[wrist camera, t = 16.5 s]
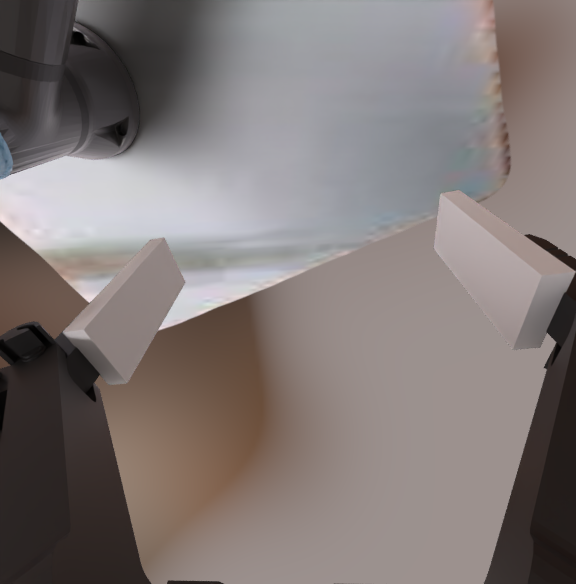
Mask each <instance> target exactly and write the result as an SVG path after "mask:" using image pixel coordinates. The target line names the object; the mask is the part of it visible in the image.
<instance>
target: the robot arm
mask: <svg viewBox="0 0 576 584" xmlns="http://www.w3.org/2000/svg"><path fill="white" fill-rule="evenodd" d="M78 1H79V0H0V179H3V178H6V177H7V176H9V175H11V174H14V173H17V172H20V171H23V170H25V169H28V168H31V167H34V166H37V165H40V164H43V163H46V162H49V161H52V160H54V159H57V158H60V157H63V156H72V157H78V158H83V159H91V160H98V159H105V158H109V157H112V156H114V155H117V154H119V153H121V152H123V151H124V150H126V149H127V148H128V147H129V146H130V145H131V143H132V142H133V140H134V138H135V136H136V134H137V131H138V127H139V118H140V113H139V103H138V98H137V94H136V91H135V88H134V85H133V82H132V80H131V78H130V76H129V74H128V72H127V70H126V68H125V67H124V65H123V63H122V62H121V60H120V59H119V58H118V56H117V55H116V54H115V52H114V51H113V50H112V49H111V48H110V47H109V46H108V45H107V44H106V43H105V42H104V41H103V40H102V39H101V38H100V37H99V36H97V35H96V34H95V33H94V32H92V31H91V30H89V29H88V28H86V27H84V26H82V25H80V24H78V23H76V22H74V21H75V16H76V11H77V6H78ZM434 250H435V251H436V252H437V254H438V255H439V256H440V257H441V259H442V260H443V261H444V262H445V264H446V265H447V266H448V268H449V269H450V270H451V272H452V273H453V274H454V275H455V277H456V278H457V279H458V280H459V282H460V283H461V284H462V286H463V287H464V288H465V289H466V291H467V292H468V293H469V295H470V296H471V297H472V298H473V300H474V301H475V302H476V304H477V305H478V306H479V307H480V309H481V310H482V311H483V312H484V314H485V315H486V316H487V318H488V319H489V320H490V321H491V323H492V324H493V325H494V327H495V328H496V329H497V330H498V332H499V333H500V334H501V335H502V337H503V338H504V339H505V341H506V342H507V343H508V345H509V346H510V347H511V348H512V350H517V349H528V348H540V347H541V344H542V342H543V340H544V338H545V336H546V334H547V333H548V334H549V335H550V336H551V337H552V338H553V339H554V340H555V341H556V342H557V343H556V345H555V347H554V349H553V351H552V352H551V354H550V356H549V358H548V360H547V362H546V364H545V366H544V368H546V369H547V371H546V374H545V378H544V382H543V385H542V388H541V392H540V395H539V399H538V402H537V406H536V409H535V413H534V416H533V419H532V424H531V427H530V430H529V434H528V437H527V440H526V444H525V447H524V451H523V454H522V458H521V461H520V465H519V468H518V471H517V475H516V478H515V482H514V485H513V489H512V492H511V496H510V499H509V503H508V506H507V510H506V513H505V516H504V520H503V523H502V527H501V531H500V534H499V537H498V541H497V544H496V548H495V551H494V555H493V558H492V561H491V565H490V568H489V571H488V574H487V577H486V580H485V582H484V584H576V259H575V258H573V257H572V256H568V254H567V253H565V252H564V251H562V250H561V249H558V247H556V246H555V245H553V244H552V243H550V242H549V241H547V240H545V239H542V238H539V237H536V236H533V235H530V234H528V235H523V234H521V233H520V232H518V231H517V230H515V229H514V228H513V227H511V226H510V225H508V224H507V223H505V222H504V221H503V220H501V219H500V218H498V217H497V216H495V215H494V214H492V213H491V212H490V211H488V210H487V209H485V208H484V207H483V206H481V205H480V204H478V203H477V202H475V201H474V200H473V199H471V198H470V197H468V196H467V195H465V194H464V193H463V192H461V191H460V190H457V191H451V192H444V193H441V194H440V202H439V210H438V218H437V226H436V234H435V242H434ZM184 284H185V280H184V278H183V276H182V274H181V272H180V270H179V268H178V265H177V263H176V261H175V259H174V257H173V255H172V253H171V251H170V249H169V246H168V244H167V242H166V240H165V238H159V239H152V240H150V241H149V242H148V243H147V244H146V245H145V246H144V247H143V248H142V249H141V250H140V251H139V252H138V253H137V254H136V255H135V256H134V257H133V259H132V260H131V261H130V262H129V263H128V264H127V265H126V266H125V267H124V268H123V269H122V270H121V271H120V272H119V273H118V274H117V275H116V276H115V277H114V278H113V279H112V281H111V282H110V283H109V284H108V285H107V286H106V287H105V288H104V289H103V290H102V291H101V292H100V293H99V294H98V295H97V296H96V297H95V298H94V299H93V300H92V301H91V302H90V303H89V304H88V306H86V307H85V308H84V309H83V311H82V312H81V313H80V314H79V315H78V316H77V317H76V318H75V319H74V320H73V321H72V322H71V323H70V324H69V325H68V326H67V327H66V328H65V329H64V330H63V331H62V333H61V334H60V335H59V336H58V337H57V338H56V339H55V340H54V339H53V338H52V337H51V336H50V334H48V332H47V331H46V330H45V329H44V328H43V327H42V326H41V325H40V324H39V323H38V322H29V323H25V324H22V325H19V326H17V327H15V328H13V329H11V330H9V331H8V332H6V333H5V334H3V335H2V336H0V356H1V357H2V358H3V359H4V360H5V361H7V362H8V363H9V364H10V366H7V367H4V368H2V369H0V584H151V582H150V581H149V579H148V578H147V577H146V575H145V573H144V571H143V568H142V566H141V562H140V558H139V553H138V549H137V545H136V541H135V537H134V532H133V528H132V524H131V520H130V515H129V512H128V507H127V503H126V499H125V495H124V490H123V486H122V482H121V477H120V473H119V469H118V465H117V461H116V456H115V452H114V448H113V444H112V440H111V435H110V431H109V427H108V423H107V419H106V414H105V410H104V406H103V401H102V397H101V393H100V389H99V388H98V387H97V386H96V384H95V383H94V382H95V381H96V379H97V378H98V376H99V375H100V376H101V377H102V378H103V379H104V380H105V381H106V382H107V384H108V385H112V384H125V383H127V382H128V381H129V379H130V378H131V376H132V374H133V372H134V371H135V369H136V367H137V365H138V364H139V362H140V360H141V359H142V357H143V355H144V353H145V352H146V350H147V348H148V346H149V345H150V343H151V341H152V339H153V338H154V336H155V334H156V333H157V331H158V329H159V327H160V326H161V324H162V322H163V320H164V319H165V317H166V315H167V314H168V312H169V310H170V308H171V307H172V305H173V303H174V301H175V300H176V298H177V296H178V295H179V293H180V291H181V289H182V288H183V286H184ZM167 584H223V583H221V582H217V581H168V582H167Z"/></svg>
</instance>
